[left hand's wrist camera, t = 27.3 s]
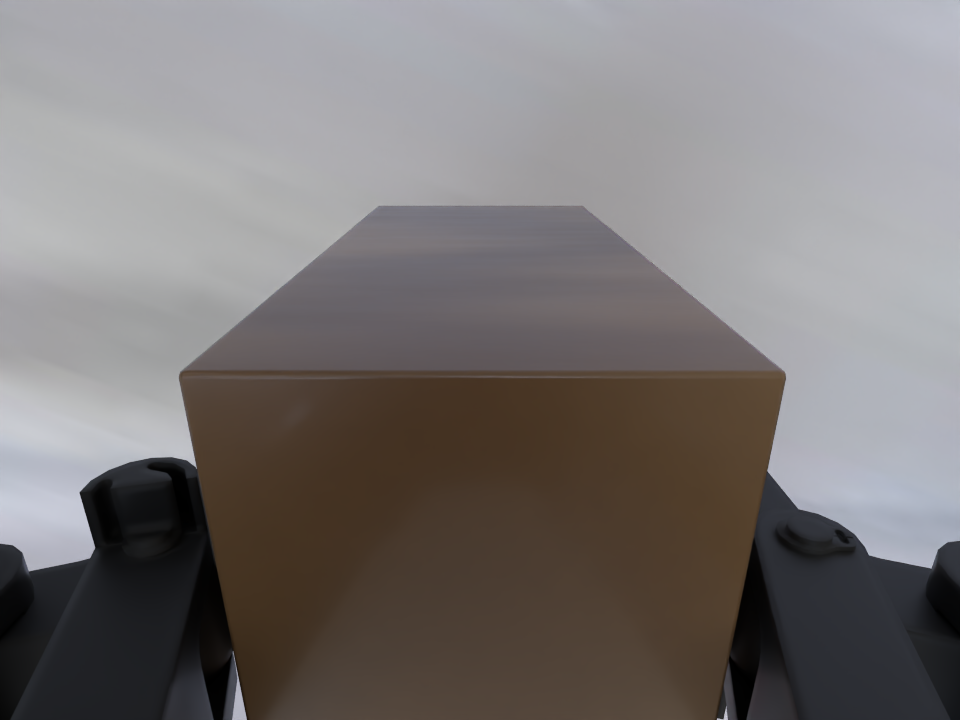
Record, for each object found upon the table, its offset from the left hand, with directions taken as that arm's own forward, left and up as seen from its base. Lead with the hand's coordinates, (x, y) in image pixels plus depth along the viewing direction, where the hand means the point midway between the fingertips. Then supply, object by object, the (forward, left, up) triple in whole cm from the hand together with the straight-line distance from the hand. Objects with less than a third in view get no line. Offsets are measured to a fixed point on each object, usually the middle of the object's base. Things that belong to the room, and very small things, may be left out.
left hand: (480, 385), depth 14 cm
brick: (0, 0, -2) cm, 2 cm away
